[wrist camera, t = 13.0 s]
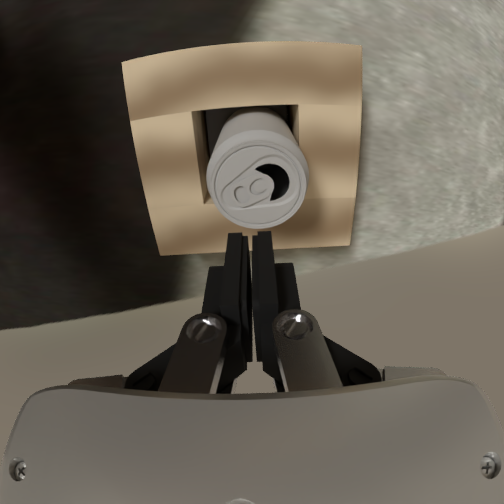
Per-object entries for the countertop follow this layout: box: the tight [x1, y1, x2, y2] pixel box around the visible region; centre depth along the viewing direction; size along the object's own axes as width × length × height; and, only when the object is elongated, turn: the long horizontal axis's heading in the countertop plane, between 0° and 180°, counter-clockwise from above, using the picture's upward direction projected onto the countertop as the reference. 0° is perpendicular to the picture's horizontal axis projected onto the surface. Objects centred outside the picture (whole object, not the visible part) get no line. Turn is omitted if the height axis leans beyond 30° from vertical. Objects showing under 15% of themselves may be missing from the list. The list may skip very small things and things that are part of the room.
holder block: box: [122, 41, 362, 256], centre depth 26 cm, size 18×18×7 cm
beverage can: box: [206, 106, 309, 229], centre depth 22 cm, size 6×6×12 cm
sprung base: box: [205, 105, 287, 157], centre depth 28 cm, size 7×7×1 cm
